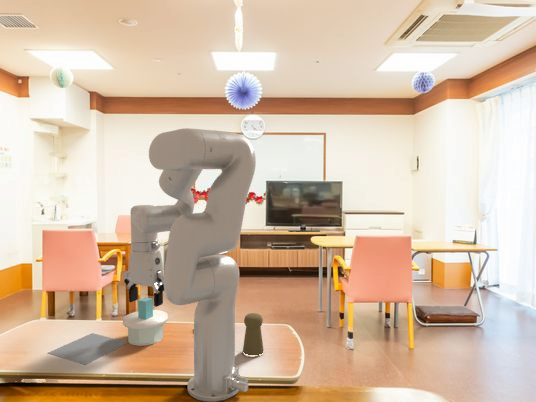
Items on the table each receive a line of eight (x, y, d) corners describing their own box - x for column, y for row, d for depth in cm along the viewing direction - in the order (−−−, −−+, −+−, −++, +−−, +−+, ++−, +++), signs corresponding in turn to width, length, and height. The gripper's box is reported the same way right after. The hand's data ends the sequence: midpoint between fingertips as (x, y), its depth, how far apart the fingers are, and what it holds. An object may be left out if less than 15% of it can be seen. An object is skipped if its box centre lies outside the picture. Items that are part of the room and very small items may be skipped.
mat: (128, 343, 116) (128, 342, 115) (85, 366, 102) (85, 364, 102) (92, 334, 122) (92, 333, 122) (47, 354, 108) (47, 353, 108)
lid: (176, 316, 121) (176, 296, 121) (147, 332, 109) (146, 309, 109) (144, 310, 127) (144, 290, 126) (113, 324, 115) (112, 302, 114)
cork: (250, 345, 115) (250, 309, 114) (267, 350, 112) (268, 313, 111) (238, 354, 110) (238, 315, 109) (256, 359, 107) (256, 320, 106)
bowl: (169, 336, 121) (169, 317, 120) (147, 349, 112) (146, 329, 111) (144, 330, 125) (144, 312, 125) (120, 343, 116) (120, 323, 116)
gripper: (176, 246, 116) (177, 303, 117) (131, 242, 123) (133, 295, 124) (159, 251, 109) (160, 311, 110) (113, 246, 117) (114, 302, 118)
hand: (145, 303), depth 117 cm, fingers open, 9 cm apart
